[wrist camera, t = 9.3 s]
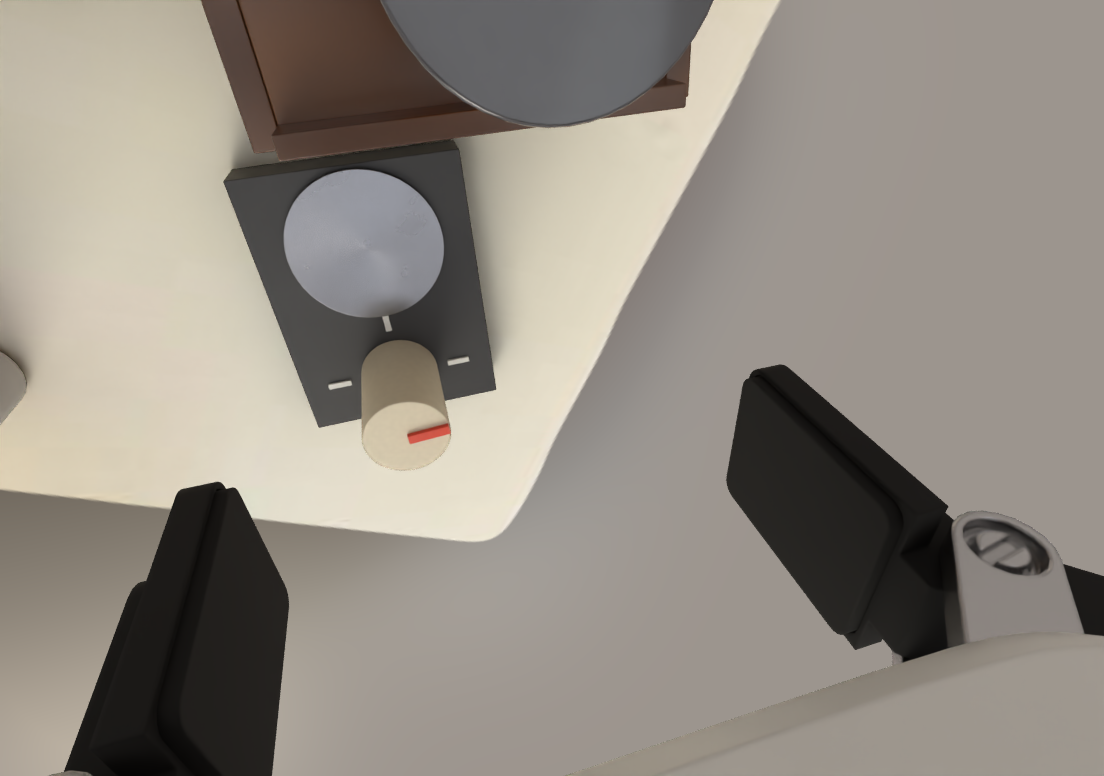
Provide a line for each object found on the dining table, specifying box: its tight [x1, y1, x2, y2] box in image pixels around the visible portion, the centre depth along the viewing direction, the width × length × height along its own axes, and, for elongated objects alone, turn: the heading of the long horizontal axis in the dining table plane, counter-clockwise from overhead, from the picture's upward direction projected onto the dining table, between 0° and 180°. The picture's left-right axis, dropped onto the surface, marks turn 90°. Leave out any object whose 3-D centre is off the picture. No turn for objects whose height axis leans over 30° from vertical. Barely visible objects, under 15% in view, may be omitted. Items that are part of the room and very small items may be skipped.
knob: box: [361, 340, 451, 471], centre depth 35 cm, size 5×5×7 cm
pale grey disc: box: [283, 168, 444, 318], centre depth 33 cm, size 9×9×1 cm
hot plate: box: [224, 140, 496, 428], centre depth 36 cm, size 18×12×3 cm
